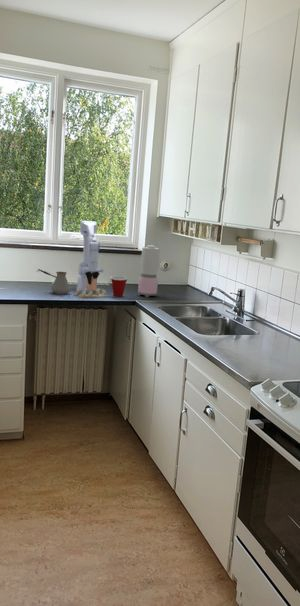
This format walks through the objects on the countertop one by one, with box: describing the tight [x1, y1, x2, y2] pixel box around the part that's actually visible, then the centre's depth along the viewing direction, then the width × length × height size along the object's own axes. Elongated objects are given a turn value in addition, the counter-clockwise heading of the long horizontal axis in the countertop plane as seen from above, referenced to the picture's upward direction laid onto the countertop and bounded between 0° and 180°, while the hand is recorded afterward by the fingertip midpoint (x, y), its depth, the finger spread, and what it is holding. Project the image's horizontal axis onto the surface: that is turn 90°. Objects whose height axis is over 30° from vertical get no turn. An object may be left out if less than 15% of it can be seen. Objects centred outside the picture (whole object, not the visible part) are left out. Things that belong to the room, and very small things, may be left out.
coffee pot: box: [37, 268, 71, 295], centre depth 307 cm, size 21×12×15 cm, turn 124°
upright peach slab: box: [86, 278, 98, 291], centre depth 310 cm, size 8×2×7 cm, turn 38°
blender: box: [137, 244, 160, 298], centre depth 326 cm, size 16×12×32 cm
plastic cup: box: [110, 275, 128, 298], centre depth 316 cm, size 11×11×12 cm
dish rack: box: [74, 288, 108, 299], centre depth 311 cm, size 11×17×4 cm, turn 128°
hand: (91, 284), depth 310 cm, fingers closed on upright peach slab, 2 cm apart
